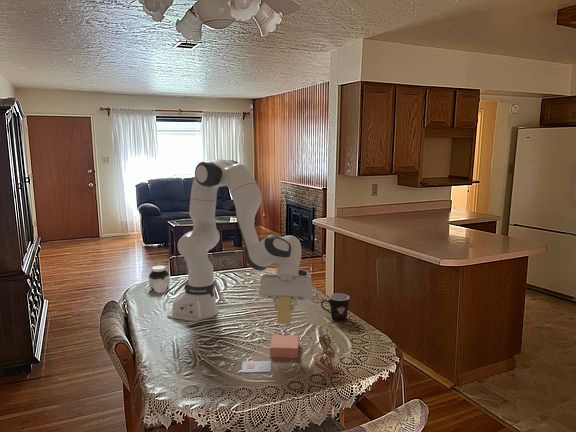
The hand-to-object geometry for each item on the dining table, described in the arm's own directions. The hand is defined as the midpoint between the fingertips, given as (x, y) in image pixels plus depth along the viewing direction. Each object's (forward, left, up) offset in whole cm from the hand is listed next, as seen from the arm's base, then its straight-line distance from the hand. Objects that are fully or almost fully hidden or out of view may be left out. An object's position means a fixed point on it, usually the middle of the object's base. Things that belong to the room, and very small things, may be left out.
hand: (284, 309), depth 157 cm
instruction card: (-8, -12, -16) cm, 22 cm away
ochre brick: (0, +1, -5) cm, 5 cm away
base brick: (0, +1, -17) cm, 17 cm away
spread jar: (-74, +58, -17) cm, 95 cm away
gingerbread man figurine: (+16, -9, -17) cm, 25 cm away
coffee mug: (+18, +33, -17) cm, 41 cm away
